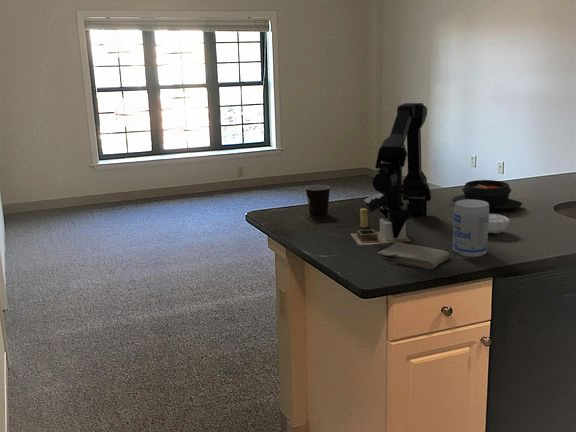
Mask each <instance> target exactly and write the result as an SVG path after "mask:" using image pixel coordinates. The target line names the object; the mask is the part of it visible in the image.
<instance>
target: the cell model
mask: <svg viewBox="0 0 576 432" xmlns="http://www.w3.org/2000/svg"><path fill="white" fill-rule="evenodd" d="M510 220H511V219H509V218H508V217H507V216H505V215H501V214H498V213H489V223H488V234H493V235H494V234H497V235H498V234H500V233H502V232H503V231H504V230H506V229H507V227H508V225H509V223H510Z"/></svg>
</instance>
